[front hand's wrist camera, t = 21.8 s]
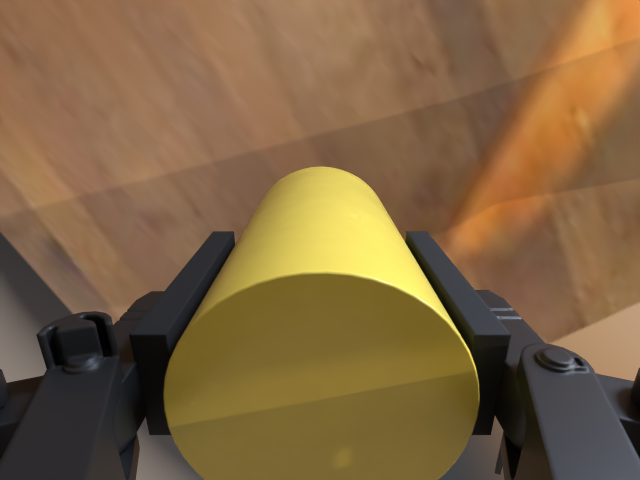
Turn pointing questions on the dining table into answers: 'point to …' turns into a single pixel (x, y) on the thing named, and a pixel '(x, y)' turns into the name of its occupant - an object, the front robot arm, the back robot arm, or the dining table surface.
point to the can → (321, 349)
